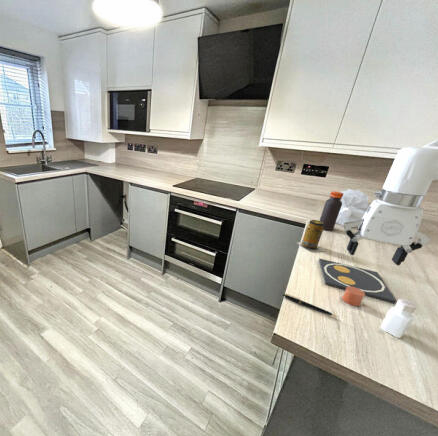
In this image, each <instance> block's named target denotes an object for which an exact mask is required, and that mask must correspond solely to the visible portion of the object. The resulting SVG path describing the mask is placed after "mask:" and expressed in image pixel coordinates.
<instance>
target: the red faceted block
mask: <svg viewBox="0 0 438 436" xmlns="http://www.w3.org/2000/svg"><path fill="white" fill-rule="evenodd" d="M364 297H366V296H365V293H364V292H363V291H362V290H360V289H358V288H355V287H351V286H348V287H346V290H344V293H343V294H342V297H341V299H342V301H343V302H344V303H346V304H348V305H350V306H353V307H360V306H361V304H362V302H363V300H364Z"/></svg>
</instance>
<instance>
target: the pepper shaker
mask: <svg viewBox="0 0 438 436" xmlns="http://www.w3.org/2000/svg"><path fill="white" fill-rule="evenodd" d="M417 307H418V305H417V304H416V303H415V302H412V301H411V300H409V299H406V298H399V299H398V300H397V301H396V303H395V306H393V307H391V308H390V309H389V310H388V311H387V314H386V315H385V317H384V319H383V321H382V323H381V325H380V329H381V330H382V331H384V332H386V333H388V334H390V335H391V336H393V337H395V338H396V339H400V338H403V336H404V335H405V333H406V332H407V330H408V328H409V327H410V325H411V323H412V322H413V320H414V319H415V316H414V315H413V314H414V313H415V311H416V310H417Z"/></svg>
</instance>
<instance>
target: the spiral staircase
mask: <svg viewBox="0 0 438 436" xmlns="http://www.w3.org/2000/svg"><path fill="white" fill-rule="evenodd" d="M340 192H341V193H343V197H342V199H341V200H340V201H341V202H342V206H341V209H340V212H339V214H338V217H337V220H336V223H335V224H339V225H341V226H343V227H344V225H343V224H344V223H346V222H351V221H357V220H362V218H363V216H364V214H365V213H366V211H367V209H368V208H369V206H370V205H369V204H368V201H369V197H368V194H367V193H363V192H362V191H361V190H360V189H357V190H355V189H351V188H347V190H342V191H340Z"/></svg>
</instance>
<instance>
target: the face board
mask: <svg viewBox="0 0 438 436" xmlns="http://www.w3.org/2000/svg"><path fill="white" fill-rule="evenodd" d="M318 263H319V266H320V270H321V274H322V278H323V282H324V285H326V286H329V287H333V288H337V289H341V290H343V291H345V290H346V287H348V286H351V287H355V288H358V289H360V290H362V291H363V292H364V293H365V296H364V297H370V298H373V299H376V300H380V301H384V302H388V303H391V304H396V303H397V300H396V298H395V297H394V295H393V293H392V292H391V291H390V288H389V287H388V286H387V284H386V283H385V282H384V280H383V278H382V277H381V275H380V274H379V272H378V271H376V270H375V271H374V270H371V269H366V268H363V267H358V266H354V265H350V264H344V263H340V262H336V261H332V260H329V259H324V258H321V257H320V258H319V259H318Z"/></svg>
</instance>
